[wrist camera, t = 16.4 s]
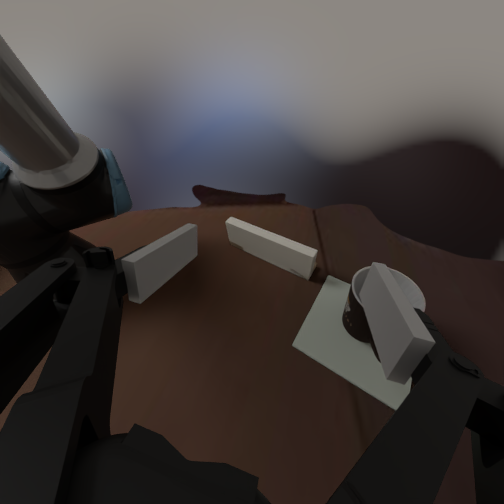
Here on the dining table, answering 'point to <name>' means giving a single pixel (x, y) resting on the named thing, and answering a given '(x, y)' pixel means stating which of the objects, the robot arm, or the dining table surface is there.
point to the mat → (345, 346)
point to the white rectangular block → (272, 248)
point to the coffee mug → (354, 310)
